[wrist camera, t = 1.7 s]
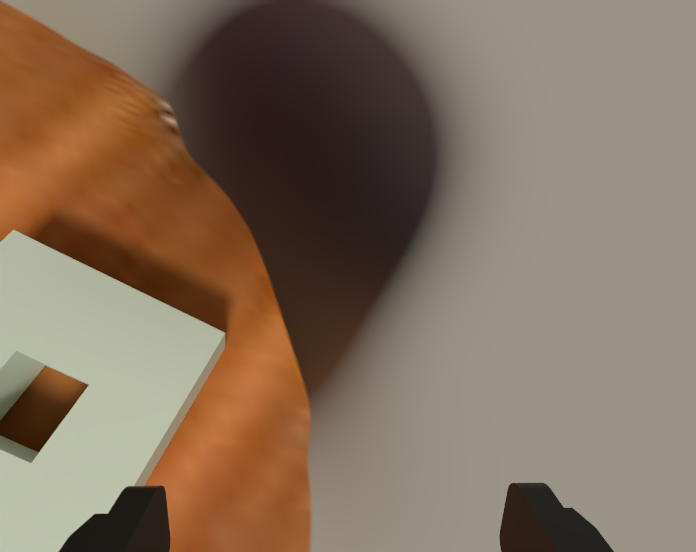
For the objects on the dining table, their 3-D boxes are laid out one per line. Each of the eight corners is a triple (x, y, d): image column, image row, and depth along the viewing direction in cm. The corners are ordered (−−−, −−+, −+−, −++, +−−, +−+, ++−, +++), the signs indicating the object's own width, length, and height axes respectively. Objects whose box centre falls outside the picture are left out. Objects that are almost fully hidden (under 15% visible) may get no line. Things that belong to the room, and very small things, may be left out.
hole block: (-198, 504, 22) (-289, 515, 18) (40, 258, 31) (13, 229, 27) (68, 614, 23) (37, 647, 19) (225, 347, 32) (225, 332, 28)
